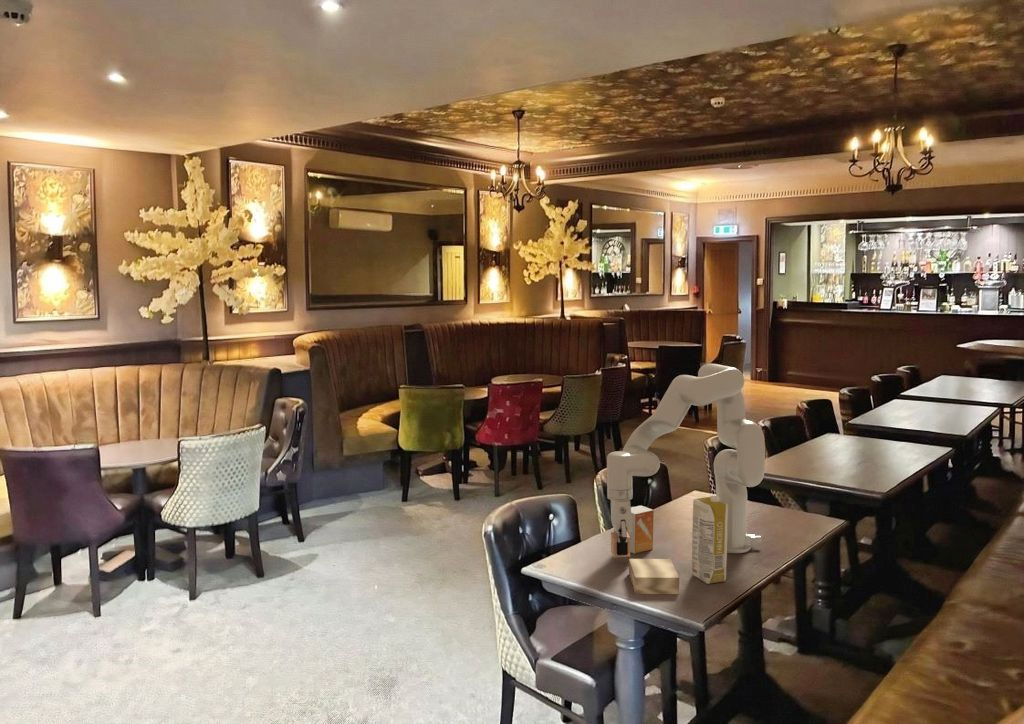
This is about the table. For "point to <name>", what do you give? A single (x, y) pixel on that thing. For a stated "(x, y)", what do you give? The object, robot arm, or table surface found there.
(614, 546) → the terracotta block
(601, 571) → the table surface
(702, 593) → the table surface
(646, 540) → the small box
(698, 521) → the juice carton
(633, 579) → the birch block
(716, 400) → the robot arm
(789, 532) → the table surface
